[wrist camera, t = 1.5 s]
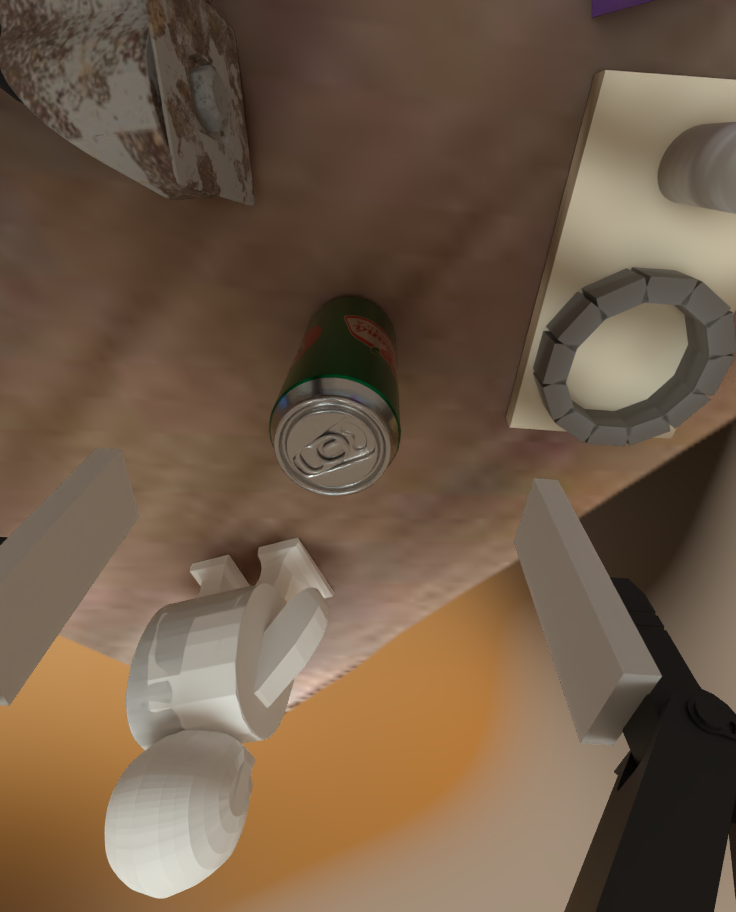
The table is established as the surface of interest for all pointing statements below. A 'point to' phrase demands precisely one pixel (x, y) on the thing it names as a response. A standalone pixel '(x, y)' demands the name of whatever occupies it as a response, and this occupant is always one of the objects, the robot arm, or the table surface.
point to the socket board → (637, 265)
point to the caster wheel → (135, 88)
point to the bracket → (613, 5)
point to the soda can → (340, 401)
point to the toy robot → (209, 713)
